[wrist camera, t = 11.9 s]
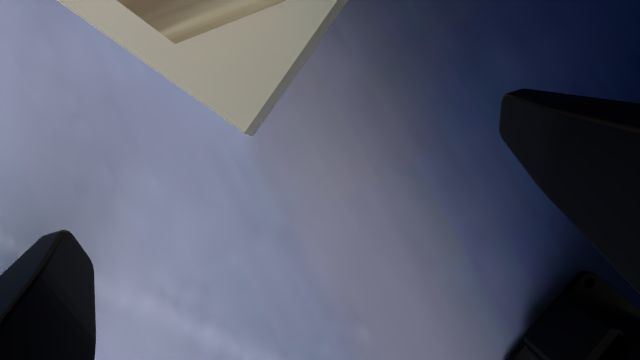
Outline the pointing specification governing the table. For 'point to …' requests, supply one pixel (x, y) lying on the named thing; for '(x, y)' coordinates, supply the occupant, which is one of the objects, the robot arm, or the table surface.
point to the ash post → (192, 14)
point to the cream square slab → (224, 53)
